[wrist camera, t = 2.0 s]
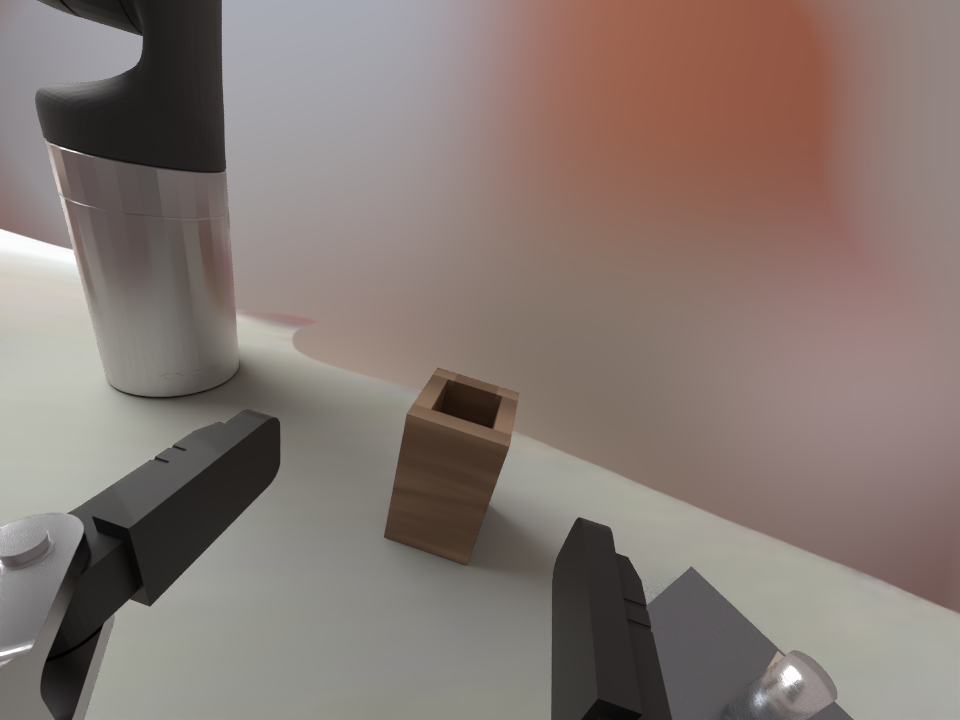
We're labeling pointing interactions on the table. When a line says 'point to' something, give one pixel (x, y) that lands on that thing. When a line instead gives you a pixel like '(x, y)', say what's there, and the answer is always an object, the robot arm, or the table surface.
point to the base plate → (731, 662)
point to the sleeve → (450, 464)
